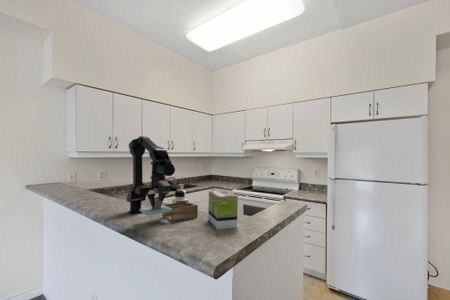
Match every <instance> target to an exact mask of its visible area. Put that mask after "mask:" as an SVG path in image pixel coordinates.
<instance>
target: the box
mask: <svg viewBox="0 0 450 300" xmlns="http://www.w3.org/2000/svg"><path fill="white" fill-rule="evenodd" d="M163 205H164V206H166V207H169V208H172V209H173V210H172V211H171V212H166V213H162V216H163V217H165V218H167V219H168V220H167V219H166V220H167V221H169V220H170V222H171V221H172V223H173V222H174V223H177V222H182V221H181V220H183V221H186V220H190V219H191V220H192V219H195V218H198V213H199V211H198V204H195V203H192V202H189V201H188V202H179V203H172V202H171V203H166V204H163ZM163 217H162V218H163ZM165 218H164V219H165Z"/></svg>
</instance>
